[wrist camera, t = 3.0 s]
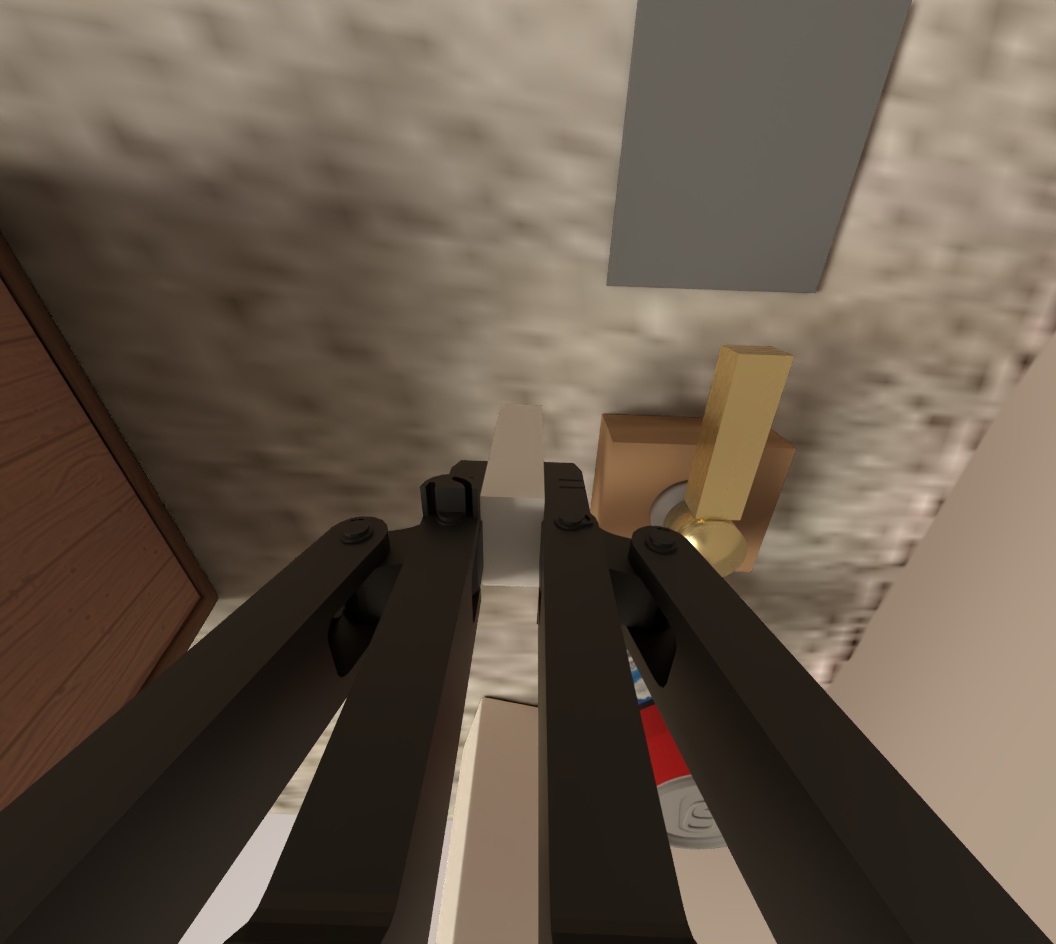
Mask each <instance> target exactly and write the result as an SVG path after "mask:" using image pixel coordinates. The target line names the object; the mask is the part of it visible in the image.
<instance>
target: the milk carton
mask: <svg viewBox="0 0 1056 944" xmlns="http://www.w3.org/2000/svg"><path fill="white" fill-rule="evenodd" d="M435 944H538V707H533V706H527V705H522V704H517V703H512V702H506V701H501V700H496V699H490V698H482V699H481V702H480V705H479V707H478V710H477V713H476V716H475V718H474V721H473V724H472V727H471V729H470V732H469V735H468V738H467V740H466V743H465V746H464V750H463V756H462V763H461V770H460V777H459V784H458V791H457V798H456V804H455V811H454V818H453V825H452V832H451V839H450V846H449V853H448V860H447V867H446V873H445V880H444V887H443V894H442V901H441V909H440V916H439V922H438V929H437V936H436V942H435Z"/></svg>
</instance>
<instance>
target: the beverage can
mask: <svg viewBox="0 0 1056 944" xmlns="http://www.w3.org/2000/svg"><path fill="white" fill-rule="evenodd" d="M626 650H627V654H628V659H629V663H630V668H631V673H632V677H633V682H634V686H635V691H636V695H637V700H638V704H639V709H640V713H641V718H642V722H643V727H644V731H645V736H646V740H647V745H648V749H649V754H650V758H651V763H652V767H653V772H654V777H655V781H656V786H657V790H658V795H659V799H660V804H661V808H662V813H663V817H664V822H665V826H666V831H667V835H668V840H669V844H670V846H672V847H677V848H685V849H714V848H720V847H727V844H726V842H725V840H724V838H723V836H722V834H721V832H720V830H719V828H718V826H717V824H716V822H715V820H714V819H713V817H712V815H711V813H710V811H709V809H708V807H707V805H706V803H705V801H704V799H703V797H702V795H701V793H700V791H699V789H698V787H697V785H696V783H695V781H694V779H693V777H692V775H691V773H690V771H689V769H688V767H687V765H686V763H685V761H684V759H683V758H682V756H681V754H680V752H679V750H678V748H677V746H676V744H675V742H674V740H673V738H672V736H671V734H670V732H669V730H668V728H667V726H666V724H665V722H664V720H663V718H662V716H661V714H660V712H659V710H658V708H657V706H656V704H655V702H654V700H653V698H652V697H651V695H650V693H649V691H648V689H647V687H646V685H645V683H644V681H643V679H642V677H641V675H640V673H639V671H638V669H637V667H636V665H635V663H634V661H633V659H632V657H631V655H630V653H629V651H628V649H627V647H626Z"/></svg>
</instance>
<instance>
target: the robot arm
mask: <svg viewBox="0 0 1056 944" xmlns="http://www.w3.org/2000/svg"><path fill="white" fill-rule="evenodd" d="M420 491H421V501H422V510H423V518H422V521H421V523H420V524H419V525H417V526H414V527H411V528H406V529H401V530H395V531H389V532H388V528H387V525H386V524H385V523H384V521H383V520H380V519H378V518H375V517H355V518H351V519H348V520H345V521H343V522H340V523H338V524H337V525H335V526H334V527H332V528H331V529H330V530H329V531H327V532H326V533H325V534H324V535H323V536H322V537H320V538H319V539H318V540H317V541H316V542H315V543H313V544H312V545H311V546H310V547H309V548H308V549H306V550H305V551H304V552H303V553H302V554H301V555H299V556H298V557H297V558H296V559H295V560H294V561H292V562H291V563H290V564H289V565H288V566H287V567H285V568H284V569H283V570H282V571H281V572H280V573H278V574H277V575H276V576H275V577H274V578H273V579H271V580H270V581H269V582H268V583H267V584H266V585H264V586H263V587H262V588H261V589H260V590H259V591H257V592H256V593H255V594H254V595H253V596H252V597H250V598H249V599H248V600H247V601H246V602H245V603H243V604H242V605H241V606H240V607H239V608H238V609H236V610H235V611H234V612H233V613H232V614H231V615H229V616H228V617H227V618H226V619H225V620H224V621H222V622H221V623H220V624H219V625H218V626H217V627H215V628H214V629H213V630H212V631H211V632H210V633H208V634H207V635H206V636H205V637H204V638H203V639H201V640H200V641H199V642H198V643H197V644H196V645H194V646H193V647H192V648H191V649H190V650H189V651H187V652H186V653H185V654H184V655H183V656H182V657H180V658H179V659H178V660H177V661H176V662H175V663H173V664H172V665H171V666H170V667H169V668H168V669H166V670H165V671H164V672H163V673H162V674H161V675H159V676H158V677H157V678H156V679H155V680H154V681H152V682H151V683H150V684H149V685H148V686H147V687H145V688H144V689H143V690H142V691H141V692H140V693H138V694H137V695H136V696H135V697H134V698H133V699H131V700H130V701H129V702H128V703H127V704H126V705H124V706H123V707H122V708H121V709H120V710H119V711H117V712H116V713H115V714H114V715H113V716H112V717H110V718H109V719H108V720H107V721H106V722H105V723H103V724H102V725H101V726H100V727H99V728H98V729H96V730H95V731H94V732H93V733H92V734H91V735H89V736H88V737H87V738H86V739H85V740H84V741H82V742H81V743H80V744H79V745H78V746H77V747H75V748H74V749H73V750H72V751H71V752H70V753H68V754H67V755H66V756H65V757H64V758H63V759H61V760H60V761H59V762H58V763H57V764H56V765H54V766H53V767H52V768H51V769H50V770H49V771H47V772H46V773H45V774H44V775H43V776H42V777H40V778H39V779H38V780H37V781H36V782H35V783H33V784H32V785H31V786H30V787H29V788H28V789H26V790H25V791H24V792H23V793H22V794H21V795H19V796H18V797H17V798H16V799H15V800H14V801H12V802H11V803H10V804H9V805H8V806H7V807H5V808H4V809H3V810H2V811H1V812H0V944H178V943H179V941H180V939H181V938H182V937H183V935H184V934H185V932H186V931H187V929H188V928H189V927H190V925H191V924H192V922H193V921H194V919H195V918H196V916H197V915H198V914H199V912H200V911H201V909H202V908H203V906H204V905H205V903H206V902H207V900H208V899H209V898H210V896H211V895H212V893H213V892H214V890H215V889H216V887H217V886H218V884H219V883H220V881H221V880H222V878H223V877H224V875H225V874H226V873H227V871H228V870H229V868H230V867H231V865H232V864H233V863H234V861H235V859H236V858H237V857H238V855H239V854H240V852H241V851H242V849H243V848H244V846H245V845H246V843H247V842H248V841H249V839H250V838H251V836H252V835H253V833H254V832H255V830H256V829H257V828H258V826H259V825H260V823H261V822H262V820H263V819H264V817H265V816H266V814H267V813H268V812H269V810H270V809H271V807H272V806H273V804H274V803H275V801H276V800H277V798H278V797H279V795H280V794H281V793H282V791H283V790H284V788H285V787H286V785H287V784H288V782H289V781H290V779H291V778H292V777H293V775H294V774H295V772H296V771H297V769H298V768H299V766H300V765H301V763H302V762H303V761H304V759H305V758H306V756H307V755H308V753H309V752H310V750H311V749H312V747H313V746H314V744H315V743H316V742H317V740H318V739H319V737H320V736H321V734H322V733H323V731H324V730H325V728H326V727H327V726H328V724H329V723H330V721H331V720H332V718H333V717H334V715H335V714H336V712H337V711H338V709H339V708H340V707H341V705H342V704H343V702H344V701H345V699H346V698H347V699H346V701H345V704H344V706H343V708H342V711H341V713H340V716H339V718H338V720H337V723H336V725H335V727H334V730H333V732H332V735H331V737H330V739H329V742H328V744H327V746H326V749H325V751H324V754H323V756H322V758H321V761H320V763H319V765H318V768H317V770H316V773H315V775H314V777H313V780H312V782H311V784H310V787H309V789H308V792H307V794H306V796H305V799H304V801H303V804H302V806H301V808H300V811H299V813H298V815H297V818H296V820H295V823H294V825H293V827H292V830H291V832H290V835H289V837H288V839H287V842H286V844H285V847H284V849H283V851H282V854H281V856H280V858H279V861H278V863H277V865H276V868H275V870H274V873H273V875H272V877H271V880H270V882H269V884H268V887H267V889H266V891H265V893H264V895H263V897H262V899H261V902H260V904H259V906H258V908H257V909H256V911H255V912H254V914H253V915H252V917H251V918H250V920H249V921H248V922H247V923H246V924H245V925H244V926H243V927H241V928H240V929H239V930H238V931H237V932H235V933H234V934H233V935H232V936H231V937H230V938H228V939H227V940H226V941H225V942H224V943H223V944H428V937H429V931H430V925H431V918H432V911H433V905H434V899H435V891H436V886H437V879H438V873H439V866H440V860H441V853H442V847H443V841H444V835H445V828H446V822H447V815H448V809H449V802H450V796H451V790H452V783H453V777H454V770H455V764H456V757H457V751H458V744H459V738H460V732H461V725H462V719H463V712H464V706H465V699H466V693H467V687H468V680H469V674H470V667H471V661H472V654H473V648H474V642H475V635H476V629H477V622H478V616H479V609H480V603H481V586H480V585H481V579H482V585H491V586H518V587H539V597H538V614H537V624H538V944H697V943H696V941H695V940H694V939H693V936H692V933H691V931H690V928H689V926H688V922H687V919H686V915H685V911H684V907H683V903H682V899H681V894H680V890H679V885H678V880H677V876H676V872H675V867H674V862H673V858H672V853H671V849H670V844H669V840H668V835H667V831H666V826H665V822H664V817H663V813H662V808H661V804H660V799H659V795H658V790H657V786H656V781H655V777H654V772H653V767H652V763H651V758H650V754H649V749H648V745H647V740H646V736H645V731H644V727H643V722H642V718H641V713H640V709H639V704H638V700H637V695H636V691H635V686H634V682H633V677H632V673H631V668H630V663H629V659H628V654H627V650H626V647H627V649H628V651H629V653H630V655H631V657H632V659H633V661H634V663H635V665H636V667H637V669H638V671H639V673H640V675H641V677H642V679H643V681H644V683H645V685H646V687H647V689H648V691H649V693H650V695H651V697H652V698H653V700H654V702H655V704H656V706H657V708H658V710H659V712H660V714H661V716H662V718H663V720H664V722H665V724H666V726H667V728H668V730H669V732H670V734H671V736H672V738H673V740H674V742H675V744H676V746H677V748H678V750H679V752H680V754H681V756H682V758H683V759H684V761H685V763H686V765H687V767H688V769H689V771H690V773H691V775H692V777H693V779H694V781H695V783H696V785H697V787H698V789H699V791H700V793H701V795H702V797H703V799H704V801H705V803H706V805H707V807H708V809H709V811H710V813H711V815H712V817H713V819H714V820H715V822H716V824H717V826H718V828H719V830H720V832H721V834H722V836H723V838H724V840H725V842H726V844H727V846H728V848H729V850H730V852H731V854H732V856H733V858H734V860H735V862H736V864H737V866H738V868H739V870H740V872H741V873H742V876H743V878H744V879H745V881H746V883H747V885H748V887H749V889H750V891H751V893H752V895H753V897H754V899H755V901H756V903H757V905H758V907H759V909H760V911H761V913H762V915H763V917H764V919H765V921H766V922H767V925H768V927H769V929H770V930H771V933H772V935H773V937H774V939H775V940H776V942H777V944H1053V943H1052V942H1051V941H1050V939H1049V938H1048V937H1047V936H1046V935H1045V934H1044V933H1043V932H1042V931H1041V930H1040V928H1039V927H1038V926H1037V925H1036V924H1035V923H1034V922H1033V921H1032V920H1031V919H1030V918H1029V916H1028V915H1027V914H1026V913H1025V912H1024V911H1023V910H1022V909H1021V907H1020V906H1019V905H1018V904H1017V903H1016V902H1015V901H1014V900H1013V899H1012V898H1011V896H1010V895H1009V894H1008V893H1007V892H1006V891H1005V890H1004V889H1003V888H1002V886H1001V885H1000V884H999V883H998V882H997V881H996V880H995V879H994V878H993V876H992V875H991V874H990V873H989V872H988V871H987V870H986V869H985V868H984V867H983V865H982V864H981V863H980V862H979V861H978V860H977V859H976V858H975V856H973V854H972V853H971V852H970V851H969V850H968V849H967V848H966V847H965V845H964V844H963V843H962V842H961V841H960V840H959V839H958V838H957V837H956V836H955V834H954V833H953V832H952V831H951V830H950V829H949V828H948V827H947V826H946V824H945V823H944V822H943V821H942V820H941V819H940V818H939V817H938V816H937V814H936V813H935V812H934V811H933V810H932V809H931V808H930V807H929V806H928V805H927V804H926V802H925V801H924V800H923V799H922V798H921V797H920V796H919V795H918V794H917V792H916V791H915V790H914V789H913V788H912V787H911V786H910V785H909V783H908V782H907V781H906V780H905V779H904V778H903V777H902V776H901V775H900V774H899V773H898V771H897V770H896V769H895V768H894V767H893V766H892V765H891V764H890V762H889V761H888V760H887V759H886V758H885V757H884V756H883V755H882V754H881V753H880V751H879V750H878V749H877V748H876V747H875V746H874V745H873V744H872V743H871V742H870V741H869V739H868V738H867V737H866V736H865V735H864V734H863V733H862V731H861V730H860V729H859V728H858V727H857V726H856V725H855V724H854V723H853V722H852V720H851V719H850V718H849V717H848V716H847V715H846V714H845V713H844V712H843V710H842V709H841V708H840V707H839V706H838V705H837V704H836V703H835V702H834V701H833V700H832V698H831V697H830V696H829V695H828V694H827V693H826V692H825V691H824V689H823V688H822V687H821V686H820V685H819V684H818V683H817V682H816V681H815V680H814V678H813V677H812V676H811V675H810V674H809V673H808V672H807V671H806V670H805V668H804V667H803V666H802V665H801V664H800V663H799V662H798V661H797V660H796V658H795V657H794V656H793V655H792V654H791V653H790V652H789V651H788V650H787V649H786V647H785V646H784V645H783V644H782V643H781V642H780V641H779V640H778V639H777V637H776V636H775V635H774V634H773V633H772V632H771V631H770V630H769V629H768V628H767V626H766V625H765V624H764V623H763V622H762V621H761V620H760V619H759V618H758V616H757V615H756V614H755V613H754V612H753V611H752V610H751V609H750V608H749V607H748V605H747V604H746V603H745V602H744V601H743V600H742V599H741V598H740V597H739V595H738V594H737V593H736V592H735V591H734V590H733V589H732V588H731V587H730V585H729V584H728V583H727V582H726V581H725V580H724V579H723V578H722V577H721V576H720V574H719V573H718V572H717V571H716V570H715V569H714V568H713V567H712V566H711V564H710V563H709V562H708V561H707V560H706V559H705V558H704V557H703V556H702V555H701V553H700V552H699V551H698V550H697V549H696V548H695V547H694V546H693V545H692V543H691V542H690V541H689V540H688V539H687V538H685V537H684V536H683V535H682V534H680V533H679V532H676V531H674V530H672V529H670V528H666V527H662V526H644V527H641V528H638V529H637V530H636V531H634V532H633V534H632V538H627V537H623V536H619V535H615V534H612V533H609V532H607V531H605V530H603V529H601V528H600V527H599V523H598V521H597V519H596V518H595V516H593V515H592V514H591V513H590V509H589V504H588V499H587V494H586V490H585V485H584V480H583V475H582V471H581V470H580V469H579V468H578V467H577V466H576V465H575V464H574V463H555V462H544V461H543V430H542V405H517V404H501V407H500V412H499V416H498V421H497V425H496V429H495V434H494V438H493V442H492V447H491V451H490V455H489V460H488V461H468V460H461V461H460V462H458V463H457V464H456V465H455V466H453V467H452V468H451V471H450V474H446V475H440V476H436V477H432V478H430V479H428V480H427V481H425V482H424V483H423V484H422V485H421V486H420ZM347 696H348V697H347Z"/></svg>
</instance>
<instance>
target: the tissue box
mask: <svg viewBox="0 0 1056 944" xmlns="http://www.w3.org/2000/svg"><path fill="white" fill-rule="evenodd" d="M217 600H218V596H217V594H216V593H215V591H214V589H213V587H212V586H211V584H210V582H209V581H208V579H207V577H206V576H205V574H204V572H203V571H202V569H201V567H200V566H199V564H198V562H197V561H196V559H195V557H194V556H193V554H192V552H191V551H190V549H189V547H188V546H187V544H186V542H185V541H184V539H183V537H182V536H181V534H180V532H179V531H178V529H177V527H176V525H175V524H174V522H173V520H172V519H171V517H170V515H169V514H168V512H167V510H166V509H165V507H164V505H163V504H162V502H161V500H160V499H159V497H158V495H157V494H156V492H155V490H154V489H153V487H152V485H151V484H150V482H149V480H148V479H147V477H146V475H145V474H144V472H143V470H142V469H141V467H140V465H139V464H138V462H137V460H136V459H135V457H134V455H133V454H132V452H131V450H130V449H129V447H128V445H127V444H126V442H125V440H124V439H123V437H122V435H121V434H120V432H119V430H118V429H117V427H116V425H115V424H114V422H113V420H112V419H111V417H110V415H109V414H108V412H107V410H106V409H105V407H104V405H103V404H102V402H101V400H100V399H99V397H98V395H97V394H96V392H95V390H94V389H93V387H92V385H91V384H90V382H89V380H88V379H87V377H86V375H85V374H84V372H83V370H82V369H81V367H80V365H79V364H78V362H77V360H76V359H75V357H74V355H73V353H72V352H71V350H70V348H69V347H68V345H67V343H66V342H65V340H64V338H63V337H62V335H61V333H60V332H59V330H58V328H57V327H56V325H55V323H54V322H53V320H52V318H51V317H50V315H49V313H48V312H47V310H46V308H45V307H44V305H43V303H42V302H41V300H40V298H39V297H38V295H37V293H36V292H35V290H34V288H33V287H32V285H31V283H30V282H29V280H28V278H27V277H26V275H25V273H24V272H23V270H22V268H21V267H20V265H19V263H18V262H17V260H16V258H15V257H14V255H13V253H12V252H11V250H10V248H9V247H8V245H7V243H6V242H5V240H4V238H3V237H2V235H1V233H0V812H1V811H2V810H3V809H4V808H5V807H7V806H8V805H9V804H10V803H11V802H12V801H14V800H15V799H16V798H17V797H18V796H19V795H21V794H22V793H23V792H24V791H25V790H26V789H28V788H29V787H30V786H31V785H32V784H33V783H35V782H36V781H37V780H38V779H39V778H40V777H42V776H43V775H44V774H45V773H46V772H47V771H49V770H50V769H51V768H52V767H53V766H54V765H56V764H57V763H58V762H59V761H60V760H61V759H63V758H64V757H65V756H66V755H67V754H68V753H70V752H71V751H72V750H73V749H74V748H75V747H77V746H78V745H79V744H80V743H81V742H82V741H84V740H85V739H86V738H87V737H88V736H89V735H91V734H92V733H93V732H94V731H95V730H96V729H98V728H99V727H100V726H101V725H102V724H103V723H105V722H106V721H107V720H108V719H109V718H110V717H112V716H113V715H114V714H115V713H116V712H117V711H119V710H120V709H121V708H122V707H123V706H124V705H126V704H127V703H128V702H129V701H130V700H131V699H133V698H134V697H135V696H136V695H137V694H138V693H140V692H141V691H142V690H143V689H144V688H145V687H147V686H148V685H149V684H150V683H151V682H152V681H154V680H155V679H156V678H157V677H158V676H159V675H161V674H162V673H163V672H164V671H165V670H166V669H168V668H169V667H170V666H171V665H172V664H173V663H175V662H176V661H177V660H178V659H179V658H180V657H182V656H183V655H184V654H185V653H186V652H187V650H188V649H189V647H190V646H191V644H192V642H193V641H194V639H195V637H196V636H197V634H198V632H199V631H200V629H201V627H202V626H203V624H204V622H205V621H206V619H207V617H208V616H209V614H210V613H211V611H212V609H213V607H214V606H215V604H216V602H217Z"/></svg>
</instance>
